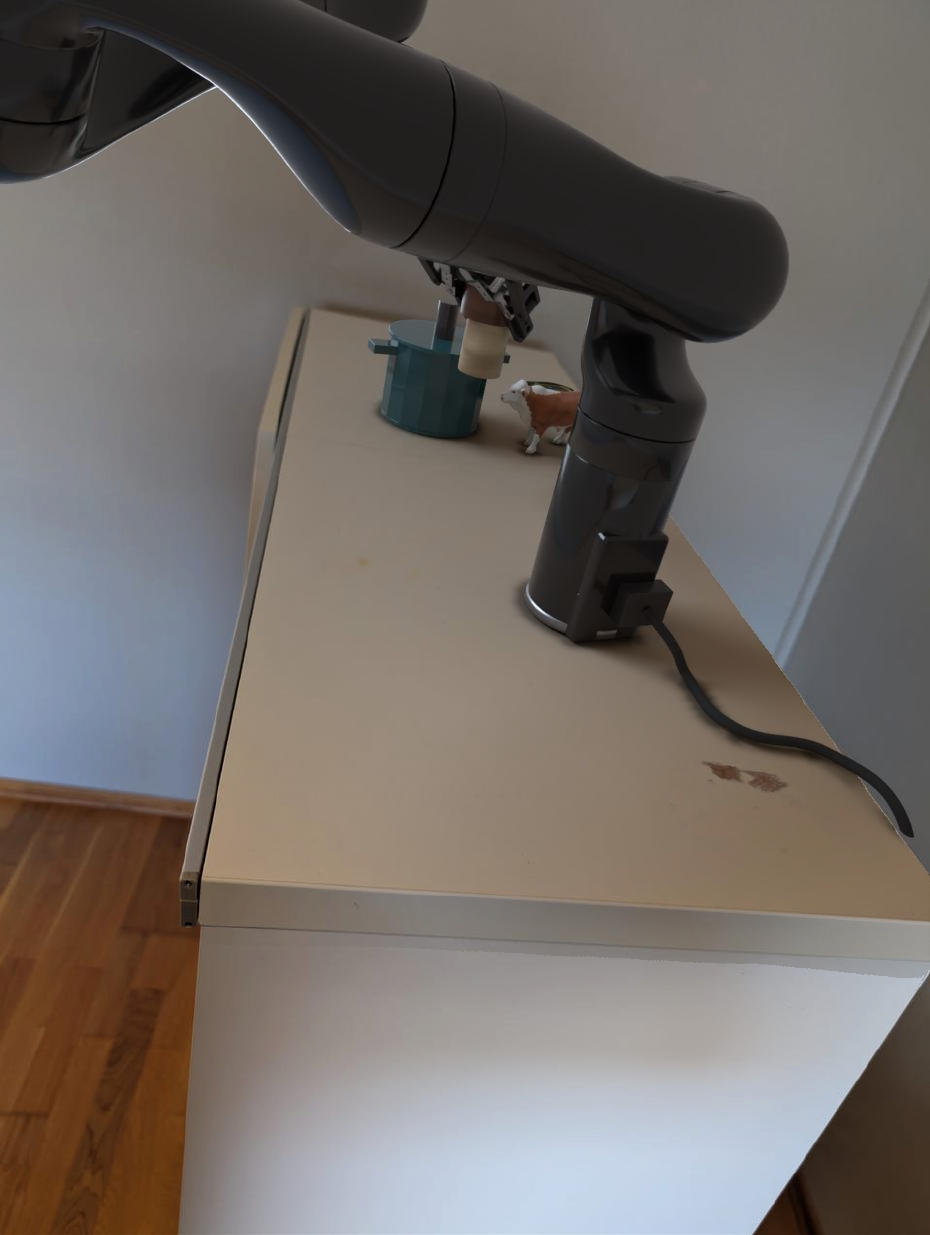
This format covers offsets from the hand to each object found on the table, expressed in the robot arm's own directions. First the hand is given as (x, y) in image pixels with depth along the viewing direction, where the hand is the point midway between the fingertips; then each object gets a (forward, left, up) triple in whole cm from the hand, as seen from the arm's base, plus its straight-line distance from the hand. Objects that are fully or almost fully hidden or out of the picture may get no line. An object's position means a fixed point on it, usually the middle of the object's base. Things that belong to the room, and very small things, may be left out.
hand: (499, 324), depth 86 cm
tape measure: (+18, -19, -16) cm, 31 cm away
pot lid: (+14, -1, -6) cm, 16 cm away
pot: (+14, -1, -16) cm, 21 cm away
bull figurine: (+6, -13, -16) cm, 21 cm away
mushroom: (-1, +2, -5) cm, 5 cm away
